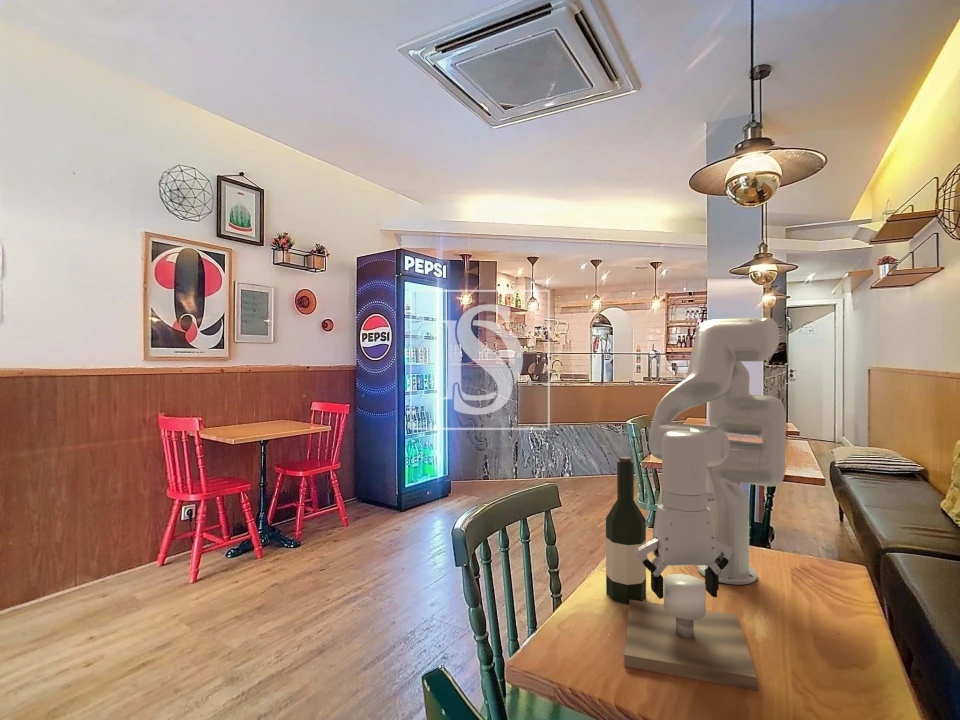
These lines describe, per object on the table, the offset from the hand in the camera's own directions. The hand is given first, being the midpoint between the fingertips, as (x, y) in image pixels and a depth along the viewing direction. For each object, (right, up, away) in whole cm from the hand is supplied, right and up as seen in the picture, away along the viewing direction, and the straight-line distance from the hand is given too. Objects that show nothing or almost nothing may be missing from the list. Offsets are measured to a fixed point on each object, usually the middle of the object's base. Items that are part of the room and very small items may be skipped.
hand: (684, 594), depth 93 cm
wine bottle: (-5, -9, +19) cm, 21 cm away
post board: (0, -9, 0) cm, 9 cm away
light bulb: (0, -3, +1) cm, 3 cm away
